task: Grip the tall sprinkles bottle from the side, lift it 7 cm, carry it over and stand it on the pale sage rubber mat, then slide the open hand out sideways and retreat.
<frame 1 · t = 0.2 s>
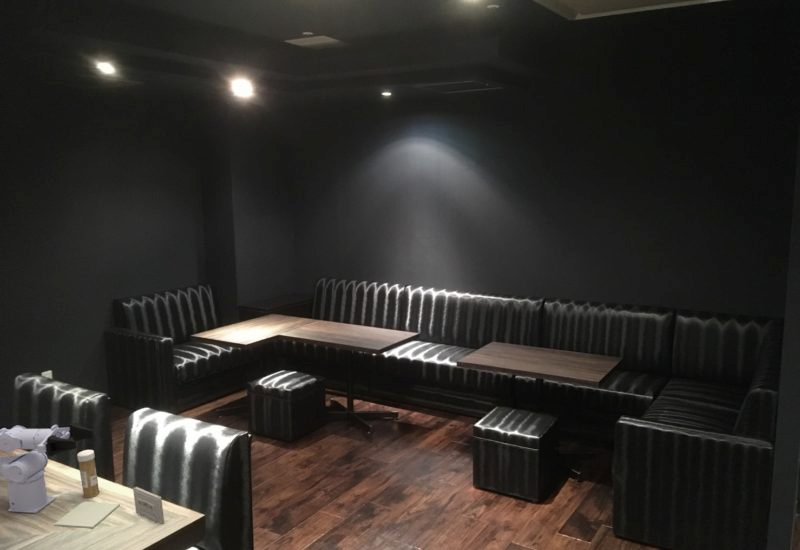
hand: (84, 439, 185), 21 cm above the table, tool horizontal, fingers open, 7 cm apart
cassette: (150, 518, 182), on the table
sprinkles bottle: (91, 495, 197), on the table
sage mat: (88, 515, 185), on the table
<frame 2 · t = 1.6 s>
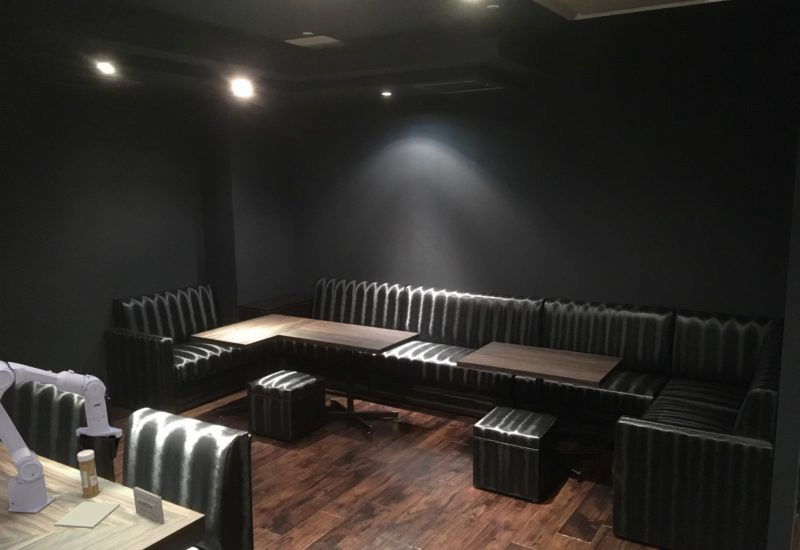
hand: (102, 457, 202), 8 cm above the table, tool pointing down, fingers open, 7 cm apart
nothing on the table moved.
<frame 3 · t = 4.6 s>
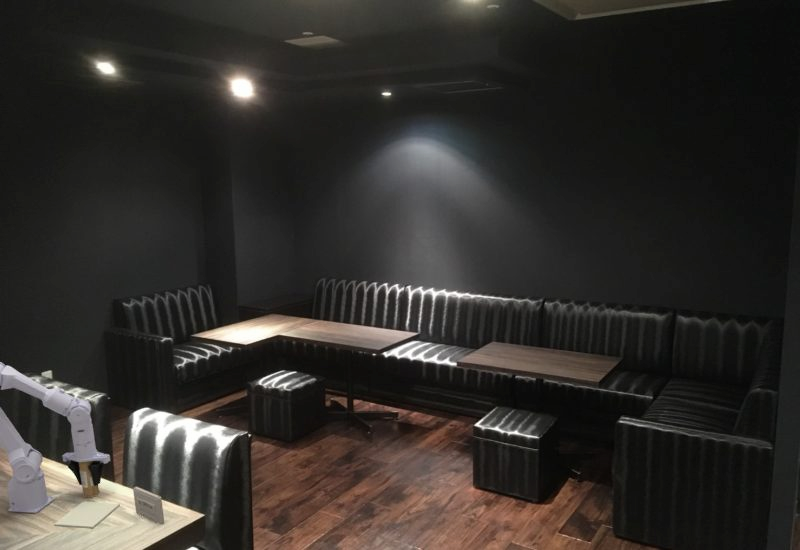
hand: (90, 483, 196), 3 cm above the table, tool pointing down, fingers closed on sprinkles bottle, 4 cm apart
sprinkles bottle: (91, 495, 197), on the table, touching gripper
everything else where it was.
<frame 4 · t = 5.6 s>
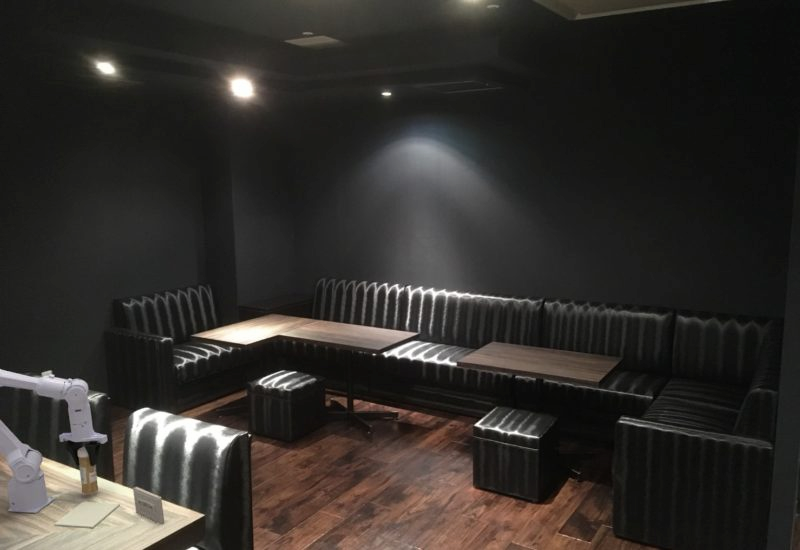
hand: (86, 464, 195), 10 cm above the table, tool pointing down, fingers closed on sprinkles bottle, 4 cm apart
sprinkles bottle: (90, 491, 196), point 1 cm above the table, touching gripper
everything else where it was.
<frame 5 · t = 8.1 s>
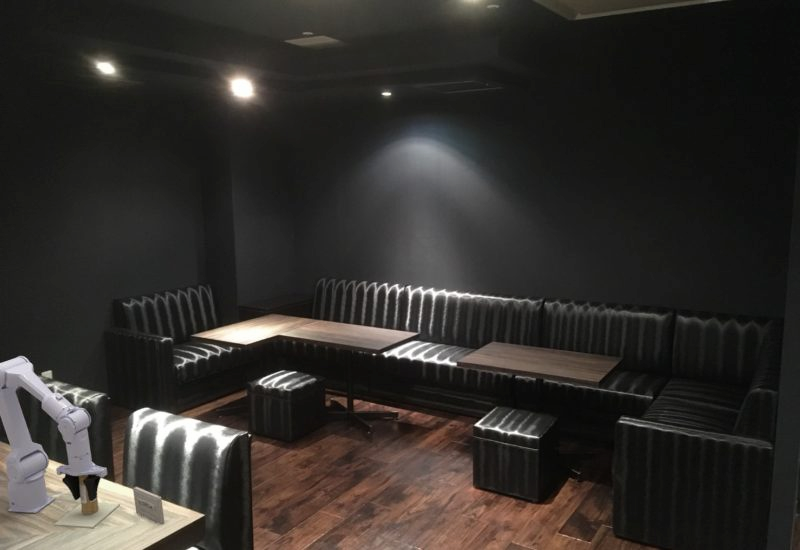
hand: (85, 498, 184), 5 cm above the table, tool pointing down, fingers closed on sprinkles bottle, 4 cm apart
sprinkles bottle: (90, 511, 186), resting on sage mat, touching gripper
everything else where it was.
when the fingers open (5 cm above the table, at t = 9.0 s): sprinkles bottle stays where it is, resting on sage mat.
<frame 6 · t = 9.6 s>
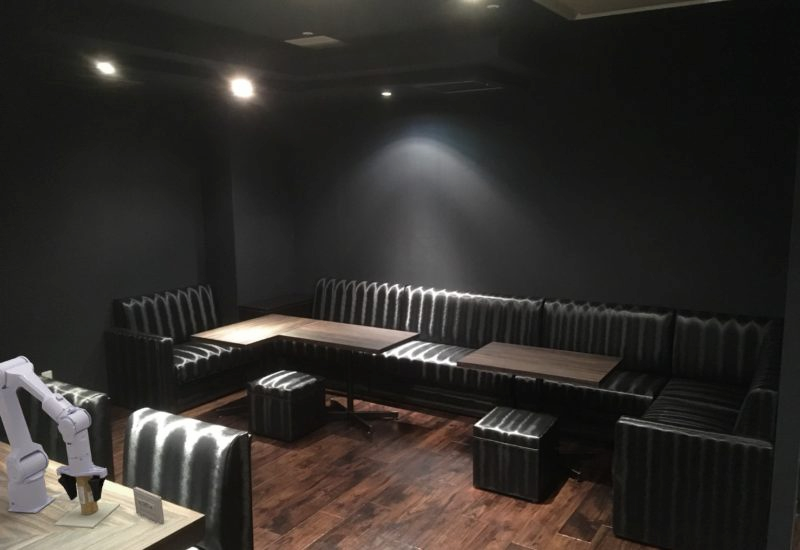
hand: (85, 499, 184), 5 cm above the table, tool pointing down, fingers open, 7 cm apart
sprinkles bottle: (90, 511, 186), resting on sage mat
everything else where it was.
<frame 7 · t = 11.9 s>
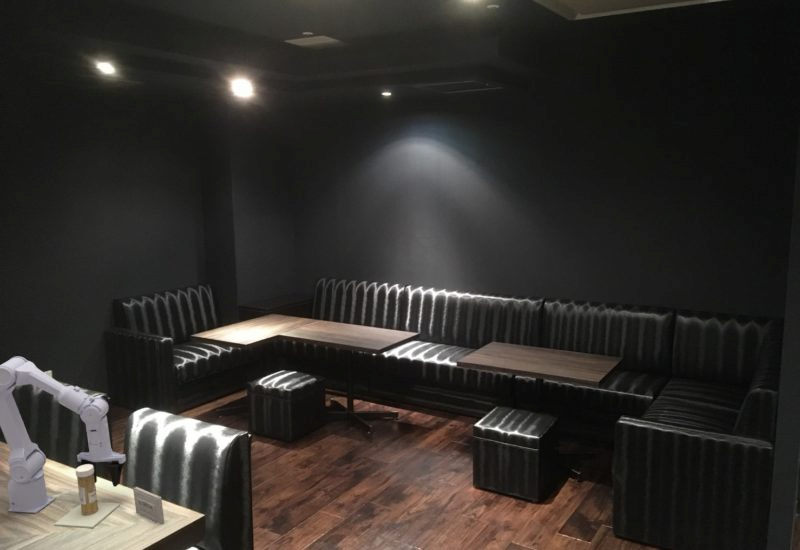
hand: (105, 484, 192), 5 cm above the table, tool pointing down, fingers open, 7 cm apart
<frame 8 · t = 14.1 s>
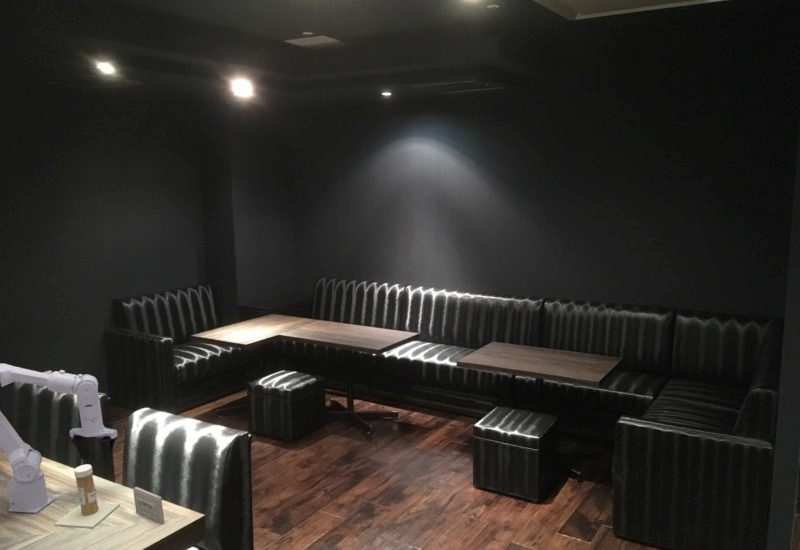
hand: (97, 459, 196), 10 cm above the table, tool pointing down, fingers open, 7 cm apart
nothing on the table moved.
at the end: sprinkles bottle inside the target area on the sage mat (1.2 cm from its centre), point 0.4 cm above the sage mat's base; sprinkles bottle tilted 2°; the gripper is holding nothing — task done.
